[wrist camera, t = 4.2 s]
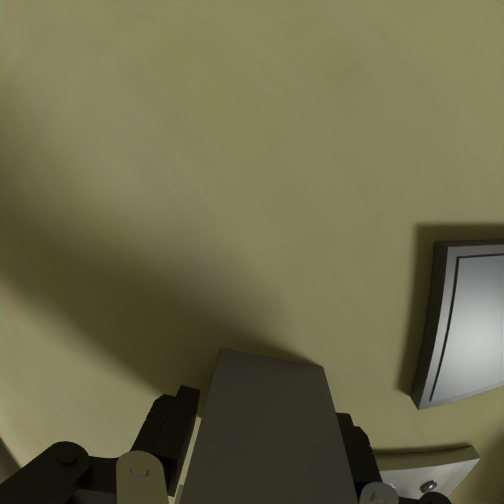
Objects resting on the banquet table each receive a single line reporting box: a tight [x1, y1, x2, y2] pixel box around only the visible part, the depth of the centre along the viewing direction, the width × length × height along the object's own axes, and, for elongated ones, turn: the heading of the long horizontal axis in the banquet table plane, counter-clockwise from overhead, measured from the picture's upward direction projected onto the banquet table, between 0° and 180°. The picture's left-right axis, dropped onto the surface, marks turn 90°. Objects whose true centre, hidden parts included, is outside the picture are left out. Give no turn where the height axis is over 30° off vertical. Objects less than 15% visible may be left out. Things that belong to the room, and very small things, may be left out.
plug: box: [174, 348, 358, 504], centre depth 8 cm, size 4×4×8 cm
